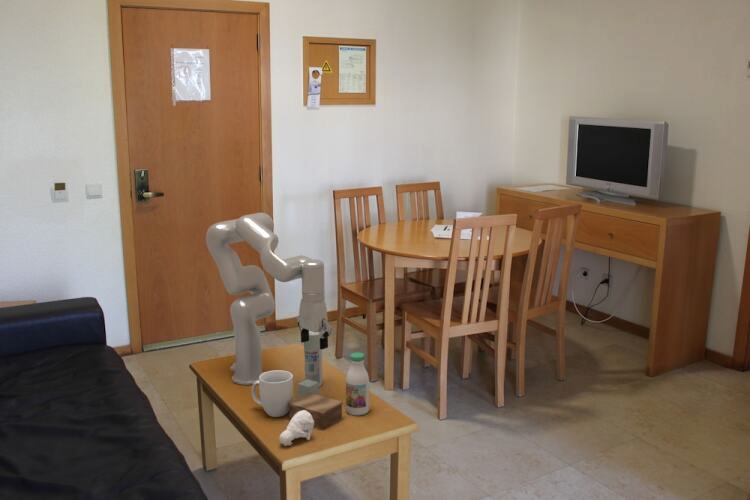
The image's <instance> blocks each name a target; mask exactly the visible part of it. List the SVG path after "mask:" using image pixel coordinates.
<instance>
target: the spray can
mask: <svg viewBox="0 0 750 500" xmlns="http://www.w3.org/2000/svg"><path fill="white" fill-rule="evenodd" d="M320 338H321V337H320V335H319V333H318V332H312V331H310V330H309V341H307V342H303V348H304V349H303V350H304V351H303V352H304V354H303V355H304V381H305V380H307V379H309V380H312V381H316V382H318V386H319V388H320V387H321V386H322V385H323V349H322V350H321V349H320Z"/></svg>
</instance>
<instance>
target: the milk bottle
mask: <svg viewBox="0 0 750 500" xmlns="http://www.w3.org/2000/svg"><path fill="white" fill-rule="evenodd" d="M349 357H350V358H349V359H350V366H349V368H348V371H347V374H346V377H345V378H346V379H345V402H346V403H345V405H346V407H345V410H346V412H347V413H348V414H349V415H352V416H363V415H366V414H368V413H369V411H370V378H369V373H368V371H367V369H366V367H365V364H364V362H365V354H364V353H362V352H353V353H351V354H350V355H349Z"/></svg>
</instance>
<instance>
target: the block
mask: <svg viewBox="0 0 750 500" xmlns="http://www.w3.org/2000/svg"><path fill="white" fill-rule="evenodd" d="M319 388H320V387H319V386H318V382H316V381H312V380H309V379H307V380H305V379H304V380H303V381H300V382H298V383H297V390H298V391H297V392H298V393H297V395H298V396H297V398H298V397H300V396H302V395H304V394H306V393H308V392H310V393H313V394H317V395H320V394H319V393H320V391H319Z"/></svg>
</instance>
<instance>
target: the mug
mask: <svg viewBox="0 0 750 500" xmlns="http://www.w3.org/2000/svg"><path fill="white" fill-rule="evenodd" d="M264 372H265V373H263V374H261V375H260V377H259V380H258V381H256V382H255V383H254V384H252V385H251V391H250V392H251V397H252V399H253V400H254V402H255V403H256V404H258V405H260V406H262V408H263V410H264V412H265V413H266V415H268V416H269V417H272V418H280V417H284V416H285V415H287V414H289V405H288V403H289V402H291V401H292V400H294V398H293V397H294V380H293V379H294V376H293V373H292V372H291V371H287V370H280V369H277V370H276V369H274V370H269V371H264ZM257 385H258V387H259V398H260V399H259V398H258V397H257V393H256V388H257Z"/></svg>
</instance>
